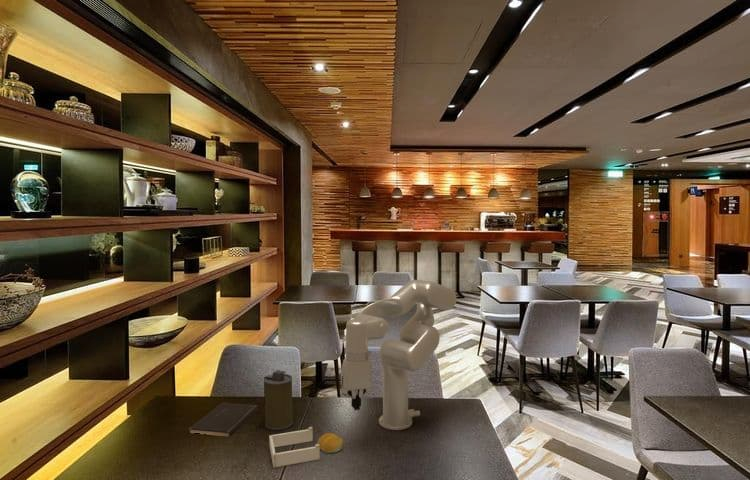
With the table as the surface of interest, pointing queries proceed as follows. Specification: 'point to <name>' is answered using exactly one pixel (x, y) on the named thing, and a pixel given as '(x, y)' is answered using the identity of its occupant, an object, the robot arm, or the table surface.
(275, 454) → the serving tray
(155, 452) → the table surface
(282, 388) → the canister
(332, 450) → the bread roll
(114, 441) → the table surface
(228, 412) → the hardcover book
